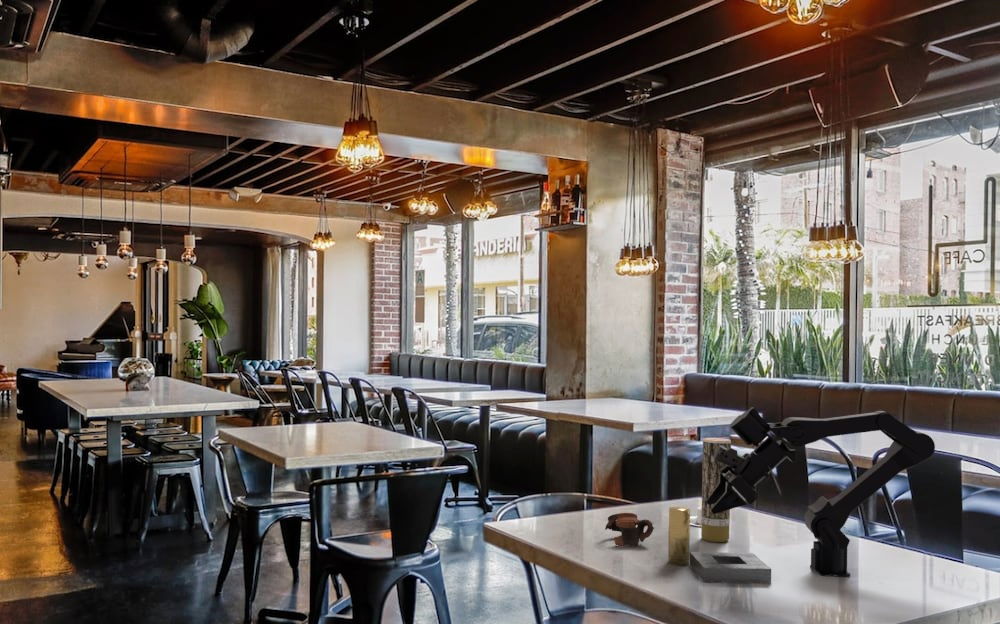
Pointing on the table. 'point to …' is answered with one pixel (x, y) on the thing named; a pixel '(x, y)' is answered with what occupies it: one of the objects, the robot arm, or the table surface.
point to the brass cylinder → (679, 536)
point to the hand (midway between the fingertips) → (709, 507)
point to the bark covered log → (712, 524)
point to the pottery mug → (629, 528)
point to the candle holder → (698, 517)
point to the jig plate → (730, 567)
